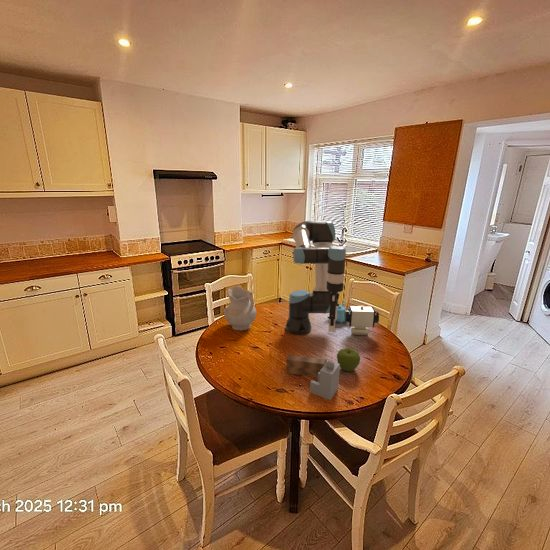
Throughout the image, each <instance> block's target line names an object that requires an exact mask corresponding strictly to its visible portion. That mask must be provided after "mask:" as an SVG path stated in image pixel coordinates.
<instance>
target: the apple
mask: <svg viewBox="0 0 550 550" xmlns="http://www.w3.org/2000/svg"><path fill="white" fill-rule="evenodd" d="M336 358H337V363H338V364H340V368H341V370H343V371H345V372H353V371H355V370H356V369H357V368H358V366H359V365H360V361H361V356H360V353H359V352H357V351H356V350H355V349H354V348H349V347H345V348H342V349H339V350H338V352H337V353H336Z"/></svg>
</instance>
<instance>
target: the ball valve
mask: <svg viewBox="0 0 550 550" xmlns="http://www.w3.org/2000/svg"><path fill="white" fill-rule="evenodd" d="M344 320H345V321H344V323H347V324H348V326H349V328H350V327H351V329H350V331H351V335H354V336H369V334H370V330H369V328H372V329H373V328H375V326H376V324H379V321H380V313H379V311H376V310H375V308H374V307H373V306H364V305H357V306H355V305H353V306H352V305H349V306H348V308H347V309H346V310H345V313H344Z"/></svg>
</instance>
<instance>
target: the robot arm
mask: <svg viewBox="0 0 550 550" xmlns="http://www.w3.org/2000/svg"><path fill="white" fill-rule="evenodd" d="M292 238H293V241H294V242H295V247H294V248H293V253H292V255H293V263H294V264H300V265H303V264H308V265H309V264H314V273H315V274H314V283H315V284H314V289H313V290H312V293H311V292H310V291H308V290H307V289H299V290H294V291H292V292H291V293H290V294H289V296H288V297H289V298H288V303H289V305H288V319H287V320H286V323H285V330H286V331H287V332H288V333H290V334H293V335H306V334H308V333H310V332H311V330H312V323H311V321H310V318H309V317H310V316H309V314H329V316H327V320H328V330H327V331H328V332H331V333H335V332H336V321H335V320H337V308H338V307H336V306H339V305H340V303H339V298H340V293H341V292H344V288H345V287H344V286H345V283H344V281H345V278H346V275H345V269H346V259H347V254H346V253H347V252H346V251H347V250H346V248H345V247H342V246H333V242H334V241H335V240H336V228H335V224H334V222H332V221H330V220H306V221H302V222H299V223H298V224H296V226H295V227H294V228H293V230H292ZM311 242H312V244H311ZM312 245H313V246H314V247H312Z"/></svg>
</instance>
